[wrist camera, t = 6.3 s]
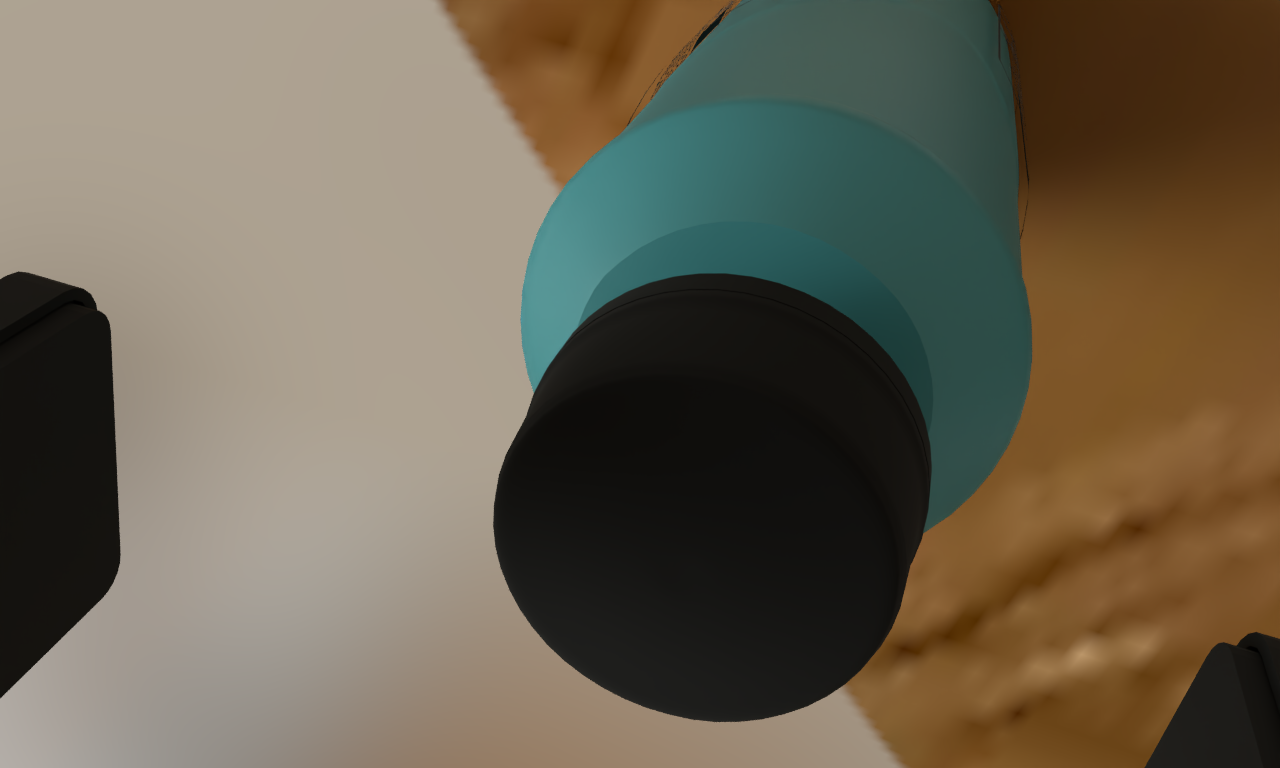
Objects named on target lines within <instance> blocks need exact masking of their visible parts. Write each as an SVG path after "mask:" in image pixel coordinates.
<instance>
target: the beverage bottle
mask: <svg viewBox="0 0 1280 768" xmlns="http://www.w3.org/2000/svg"><path fill="white" fill-rule="evenodd" d="M729 2H730V1H729ZM729 2H728V3H729ZM732 2H734V1H732ZM732 2H731V4H732ZM736 2H737V1H736ZM729 4H730V3H729ZM731 4H730V5H731ZM730 5H729V6H730ZM1000 7H1001V6H1000V5H999V4H998V17H997V14H996V12H995V10H994V8H993V7H992V5H991V3H990V2H989V0H742V1H741V2H740V3H739V4H738V5H737V6H736V7H735V8H734V9H733V10H731V12H730V10H729V12H730V14H729V15H728V14H727V13H726V14H727V15H728V16H726V18H725V17H724V18H725V19H724V18H723V20H722V22H721V23H720V21H721V19H722V17H723V16H724V13H725V11H726V10H727V9H729V8H730V7H729V8H727V9H726V8H725V9H726V10H725V9H723V8H722V9H723V10H725V11H724V12H723V13H722V11H721V10H722V9H721V10H720V11H721V13H722V14H720V16H719V17H718V16H717V17H718V18H717V19H716V20H715V21H714V22H713V23H712V24H710V26H709V27H708V25H707V27H708V28H707V29H706V28H705V29H706V30H705V31H703V33H702V34H701V36H700V37H699V38H698V40H697V42H696V44H695V46H694V48H693V50H694V49H695V48H696V46H697V45H698V44H699V43H700V42H701V41H702V40H703V39H704V38H705V37H706V36H707V35H708V34H709V33H710V32H711V31H712V30H713V29H714V28H715V27H716V26H717V25H718V26H717V27H716V28H715V29H714V30H713V31H712V32H711V33H710V34H709V36H708V37H707V38H706V39H705V40H704V41H703V42H702V43H701V44H700V45H699V46H698V47H697V48H696V49H695V50H694V51H693V50H692V51H693V52H692V51H691V53H690V55H689V57H688V58H687V59H686V60H685V59H684V60H685V61H684V60H682V61H684V62H683V63H682V64H681V63H680V64H681V65H680V66H679V67H678V65H679V64H678V65H677V64H676V65H677V67H678V68H677V67H676V68H677V69H676V70H675V71H674V70H673V71H674V72H672V73H673V74H671V76H670V77H669V76H668V77H669V78H667V80H666V81H665V80H664V81H665V82H664V84H663V83H662V85H661V83H660V82H659V83H660V84H659V83H658V84H657V86H658V85H661V86H662V87H660V86H659V87H660V89H659V91H658V89H657V88H656V89H657V91H658V92H657V91H656V89H655V91H656V92H657V94H656V95H655V96H654V98H653V99H651V101H650V102H649V103H648V104H647V106H646V107H645V108H644V109H643V110H642V111H641V112H640V113H639V114H638V115H637V116H636V118H635V119H634V120H633V121H632V122H631V123H630V124H629V123H628V125H627V127H626V128H625V130H624V131H623V132H622V133H621V134H620V135H619V136H617V137H616V138H614V139H613V140H612V141H611V142H609V143H608V144H607V145H606V146H604V147H603V148H602V149H601V150H600V151H598V152H597V153H596V154H595V155H593V156H592V157H591V158H590V159H589V160H588V161H587V163H586V164H585V165H584V166H583V167H582V168H581V169H580V170H579V171H578V172H577V173H576V174H575V175H574V176H573V177H572V178H571V179H570V180H569V181H568V183H567V184H566V185H565V187H564V188H563V190H562V191H561V193H560V194H559V195H558V197H557V198H556V200H555V201H554V203H553V204H552V206H551V207H550V209H549V211H548V213H547V215H546V217H545V219H544V221H543V223H542V225H541V227H540V229H539V231H538V233H537V236H536V239H535V242H534V244H533V247H532V250H531V253H530V256H529V259H528V264H527V269H526V274H525V280H524V284H523V291H522V306H521V333H522V347H523V352H524V357H525V363H526V368H527V373H528V376H529V379H530V382H531V386H532V389H533V392H534V395H533V398H532V401H531V404H530V407H529V409H528V412H527V416H526V418H525V420H524V422H523V424H522V426H521V427H520V429H519V431H518V433H517V435H516V437H515V439H514V440H513V442H512V444H511V446H510V448H509V450H508V452H507V454H506V456H505V459H504V462H503V465H502V468H501V471H500V474H499V478H498V484H497V490H496V495H495V502H494V522H493V527H494V537H495V547H496V550H497V555H498V559H499V562H500V567H501V569H502V572H503V575H504V577H505V580H506V582H507V585H508V587H509V590H510V592H511V593H512V595H513V597H514V599H515V601H516V603H517V605H518V606H519V608H520V610H521V611H522V613H523V614H524V616H525V617H526V619H527V620H528V621H529V623H530V624H531V626H532V627H533V628H534V629H535V631H536V632H537V633H538V634H539V635H540V637H541V638H542V639H543V640H544V641H545V642H546V644H547V645H548V646H549V647H550V648H551V649H552V650H554V651H555V652H556V653H557V654H558V655H559V656H560V657H561V658H562V659H563V660H564V661H565V662H567V663H568V664H569V665H571V666H572V667H573V668H575V669H576V670H577V671H578V672H580V673H581V674H582V675H584V676H585V677H587V678H588V679H590V680H592V681H593V682H595V683H596V684H598V685H600V686H601V687H603V688H604V689H607V690H608V691H610V692H612V693H614V694H616V695H618V696H620V697H622V698H624V699H626V700H629V701H631V702H633V703H636V704H639V705H641V706H643V707H646V708H649V709H652V710H656V711H659V712H663V713H666V714H670V715H674V716H679V717H683V718H688V719H693V720H703V721H712V722H740V721H750V720H759V719H765V718H769V717H774V716H778V715H782V714H786V713H789V712H792V711H795V710H798V709H801V708H804V707H806V706H809V705H811V704H813V703H814V702H816V701H819V700H821V699H822V698H825V697H827V696H828V695H830V694H831V693H833V692H834V691H835V690H837V689H839V688H840V687H842V686H843V685H845V684H846V683H847V682H848V681H849V680H850V679H851V678H852V677H854V676H855V675H856V674H857V673H858V672H859V671H860V670H861V669H862V668H863V667H864V666H865V664H866V663H867V662H868V661H869V660H870V658H871V657H872V656H873V655H874V654H875V652H876V651H877V650H878V649H879V648H880V646H881V645H882V643H883V642H884V640H885V638H886V637H887V635H888V633H889V632H890V630H891V629H892V626H893V624H894V622H895V619H896V617H897V614H898V612H899V609H900V607H901V602H902V598H903V594H904V590H905V586H906V581H907V577H908V573H909V569H910V565H911V563H912V561H913V559H914V557H915V554H916V552H917V549H918V547H919V545H920V542H921V540H922V536H923V533H924V532H926V531H927V530H929V529H930V528H932V527H933V526H935V525H936V524H938V523H939V522H941V521H942V520H944V519H945V518H947V517H948V516H949V515H951V514H952V513H953V512H954V511H955V510H956V509H958V508H959V507H960V506H961V505H962V504H963V503H964V502H965V501H966V500H967V499H968V498H970V497H971V496H972V495H973V494H974V493H975V491H976V490H977V489H978V488H979V487H980V485H981V484H982V483H983V482H984V481H985V479H986V478H987V477H988V476H989V475H990V474H991V472H992V471H993V469H994V468H995V466H996V465H997V463H998V461H999V460H1000V458H1001V457H1002V455H1003V453H1004V452H1005V450H1006V449H1007V447H1008V445H1009V443H1010V440H1011V438H1012V436H1013V434H1014V431H1015V429H1016V427H1017V424H1018V422H1019V420H1020V417H1021V413H1022V410H1023V406H1024V403H1025V399H1026V396H1027V392H1028V387H1029V379H1030V371H1031V363H1032V329H1031V315H1030V309H1029V303H1028V298H1027V292H1026V287H1025V284H1024V281H1023V278H1022V266H1021V249H1020V239H1021V236H1020V233H1019V217H1018V187H1019V162H1018V147H1017V134H1016V123H1015V113H1016V111H1014V100H1013V90H1014V89H1013V86H1012V77H1011V68H1012V67H1011V65H1010V58H1009V52H1008V46H1007V43H1008V42H1007V40H1008V39H1007V40H1006V38H1005V36H1006V34H1005V35H1004V33H1005V32H1004V30H1003V28H1002V25H1001V23H1000V15H1001V14H1000ZM1001 8H1002V7H1001ZM1002 10H1003V9H1002ZM720 11H719V13H720ZM729 12H728V13H729ZM718 15H719V14H718ZM1001 16H1002V15H1001ZM1005 17H1006V16H1005ZM712 19H713V18H712ZM1006 19H1007V18H1006ZM710 21H711V20H710ZM1007 21H1008V20H1007ZM719 23H720V24H719ZM1004 23H1005V22H1004ZM1008 23H1009V22H1008ZM1005 25H1006V24H1005ZM704 27H705V26H704ZM1006 27H1007V26H1006ZM1007 29H1008V28H1007ZM703 30H704V28H703ZM1011 32H1012V31H1011ZM698 33H699V32H698ZM698 33H697V34H698ZM1009 33H1010V32H1009ZM1012 35H1013V34H1011V36H1012ZM697 36H698V35H697ZM694 37H696V36H694ZM694 37H693V38H694ZM695 39H696V38H695ZM1011 39H1013V37H1012V38H1011ZM692 40H693V39H692ZM693 42H694V41H693ZM1012 42H1014V41H1012ZM688 43H689V42H688ZM688 43H687V44H688ZM690 43H691V42H690ZM690 43H689V44H690ZM1009 44H1010V43H1009ZM1009 44H1008V45H1009ZM1011 44H1012V43H1011ZM1011 44H1010V46H1012V45H1013V44H1012V45H1011ZM691 45H692V44H691ZM1015 45H1016V44H1014V46H1015ZM685 46H686V45H685ZM685 46H684V47H683V49H684V48H685ZM688 46H689V45H688ZM688 46H686V48H687V47H688ZM1010 46H1009V47H1010ZM1012 47H1013V46H1012ZM1012 47H1011V48H1012ZM689 48H690V47H689ZM689 48H687V50H688V49H689ZM1011 48H1010V49H1011ZM1013 48H1014V47H1013ZM1013 48H1012V49H1013ZM683 49H682V51H683ZM1014 49H1015V48H1014ZM1014 49H1013V50H1014ZM685 50H686V49H685ZM689 50H690V49H689ZM1013 50H1011V51H1012V52H1016V51H1017V50H1016V51H1013ZM682 51H681V52H682ZM685 52H686V51H685ZM685 52H683V53H685ZM688 52H689V51H688ZM679 53H680V52H679ZM680 54H681V53H680ZM680 54H679V55H680ZM687 54H688V53H687ZM687 54H685V55H687ZM1014 54H1015V53H1014ZM1014 54H1013V55H1014ZM685 55H684V57H685ZM1015 55H1017V54H1015ZM1015 55H1014V56H1015ZM682 57H683V56H682ZM684 57H683V58H684ZM1016 57H1017V56H1016ZM1016 57H1013V58H1015V59H1018V58H1016ZM673 58H674V57H673ZM676 58H678V57H677V56H676ZM676 58H674V59H676ZM683 58H681V59H683ZM685 58H686V57H685ZM674 59H673V60H674ZM679 59H680V58H679ZM673 60H672V61H673ZM677 60H678V59H677ZM675 61H676V60H675ZM678 61H679V60H678ZM682 61H681V62H682ZM1014 61H1015V60H1014ZM673 62H674V61H673ZM675 63H676V62H675ZM673 64H674V63H673ZM1013 64H1014V63H1013ZM1015 64H1017V63H1015ZM671 65H672V64H671ZM669 66H670V65H669ZM671 67H672V66H671ZM673 67H674V66H673ZM1014 67H1015V66H1014ZM1017 67H1018V65H1017ZM667 69H668V68H667ZM1018 69H1019V68H1018ZM662 70H663V69H662ZM1015 70H1016V69H1015ZM671 71H672V70H671ZM665 72H666V71H665ZM1014 72H1015V71H1014ZM1014 72H1013V74H1014ZM666 73H667V72H666ZM668 73H669V72H668ZM1016 73H1017V72H1016ZM1019 73H1020V72H1019ZM1019 73H1018V74H1019ZM659 74H660V73H659ZM1018 74H1017V76H1018ZM663 75H664V74H663ZM665 75H666V74H665ZM667 75H668V74H667ZM1015 75H1016V74H1015ZM657 77H658V76H657ZM666 77H667V76H666ZM1014 77H1015V76H1014ZM1019 77H1020V76H1019ZM1019 77H1018V79H1019ZM661 79H662V77H661ZM661 79H660V80H661ZM1015 79H1016V78H1015ZM1018 79H1017V80H1018ZM654 81H655V80H654ZM662 81H663V80H662ZM662 81H661V82H662ZM1016 82H1017V81H1016ZM1020 82H1021V81H1020ZM1014 83H1015V82H1014ZM1018 83H1019V82H1018ZM1018 83H1017V85H1019V84H1018ZM651 85H652V84H651ZM1015 86H1016V85H1015ZM659 87H658V88H659ZM1017 87H1018V86H1017ZM649 88H650V87H649ZM1018 88H1020V87H1018ZM1016 89H1017V88H1016ZM1018 90H1019V89H1018ZM1021 91H1022V90H1021ZM646 92H647V91H646ZM1014 93H1015V92H1014ZM1019 93H1020V92H1018V97H1019V95H1020V94H1019ZM653 94H654V93H653ZM1021 94H1022V92H1021ZM644 95H645V94H644ZM1015 96H1016V95H1015ZM643 97H644V96H643ZM652 97H653V95H652ZM652 97H651V98H652ZM1020 97H1022V96H1021V95H1020ZM1020 97H1019V98H1020ZM642 99H643V98H642ZM1016 99H1017V98H1016ZM1022 99H1023V98H1022ZM640 102H641V101H640ZM1017 102H1018V101H1017ZM1022 102H1023V101H1022ZM1020 103H1021V102H1020V99H1019V104H1018V103H1017V104H1018V105H1020ZM639 104H640V103H639ZM638 106H639V105H638ZM638 106H637V107H638ZM1021 107H1022V106H1021ZM1016 108H1017V107H1016ZM1019 108H1020V107H1019ZM1023 108H1024V106H1023ZM1023 108H1022V111H1023ZM636 109H637V108H636ZM635 111H636V110H635ZM633 114H634V113H633ZM1020 114H1022V113H1021V108H1020ZM632 116H633V115H632ZM631 118H632V117H631ZM1022 119H1023V115H1022V117H1021V124H1022ZM630 120H631V119H630ZM1024 120H1025V118H1024ZM629 122H630V121H629ZM1023 124H1024V123H1023ZM1025 126H1026V124H1025ZM1024 129H1025V128H1024ZM1022 133H1023V126H1022ZM1025 135H1026V133H1025ZM1026 140H1027V139H1026ZM1023 142H1024V135H1023ZM1027 147H1028V146H1027ZM1024 150H1025V143H1024ZM1025 159H1026V152H1025ZM1028 162H1029V161H1028ZM1026 168H1027V161H1026ZM1027 177H1028V170H1027ZM1028 187H1029V179H1028ZM1027 203H1028V201H1027ZM1026 209H1027V207H1026ZM1025 215H1026V213H1025ZM1024 221H1025V219H1024ZM1023 227H1024V224H1023ZM1022 232H1023V230H1022ZM1021 235H1022V233H1021Z"/></svg>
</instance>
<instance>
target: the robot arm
mask: <svg viewBox="0 0 1280 768" xmlns="http://www.w3.org/2000/svg"><path fill="white" fill-rule="evenodd" d="M119 564H120V533H119V509H118V486H117V463H116V442H115V418H114V394H113V373H112V350H111V330H110V324H109V321H108V319H107V317H106V315H105V314H103V313H102V312H100V311H97V307H96V303H95V301H94V299H93V297H92V295H91V294H90V293H88V292H87V291H86V290H84V289H82V288H79V287H75V286H72V285H68V284H65V283H61V282H58V281H55V280H51V279H48V278H45V277H41V276H37V275H34V274H30V273H26V272H16V273H13V274H10V275H7V276H5V277H3V278H2V279H0V698H1V697H2V696H3V695H4V694H5V693H6V692H7V691H8V690H9V689H10V688H11V687H12V686H13V685H14V684H15V683H16V682H17V681H18V680H19V679H21V678H22V676H24V675H25V673H27V672H28V671H29V670H30V669H31V668H32V667H33V666H34V665H35V664H36V663H37V662H38V661H39V660H40V659H41V658H42V657H43V656H44V655H45V654H46V653H47V652H48V651H49V650H50V649H51V648H52V647H53V646H54V645H55V644H56V643H57V642H58V641H59V640H60V639H61V638H62V637H63V636H64V635H65V634H66V633H67V632H68V631H69V630H70V629H71V628H73V627H74V626H75V625H76V624H77V622H79V621H80V620H81V619H82V618H83V617H84V616H85V615H86V614H87V613H88V612H89V611H90V610H91V609H92V608H93V607H94V606H95V605H96V604H97V603H98V602H99V601H100V600H101V599H102V598H103V597H104V595H105V594H106V593H107V592H108V590H109V589H110V587H111V585H112V584H113V582H114V579H115V577H116V575H117V572H118V568H119ZM1145 768H1280V639H1278V638H1274V637H1271V636H1268V635H1264V634H1261V633H1257V632H1255V633H1250V634H1248V635H1246V636H1245V637H1244V638H1243V639H1242V640H1240V642H1239V643H1238V645H1237V646H1234V645H1231V644H1228V643H1224V642H1223V643H1218V644H1217V645H1216V646H1215V647H1213V648H1212V650H1211V651H1210V653H1209V654H1208V656H1207V657H1206V659H1205V661H1204V663H1203V664H1202V666H1201V668H1200V670H1199V672H1198V673H1197V675H1196V677H1195V679H1194V680H1193V682H1192V684H1191V686H1190V688H1189V689H1188V691H1187V693H1186V695H1185V697H1184V698H1183V700H1182V702H1181V704H1180V706H1179V707H1178V709H1177V711H1176V713H1175V714H1174V716H1173V718H1172V720H1171V722H1170V723H1169V725H1168V727H1167V729H1166V731H1165V732H1164V734H1163V736H1162V738H1161V740H1160V741H1159V743H1158V745H1157V747H1156V748H1155V750H1154V752H1153V754H1152V756H1151V757H1150V759H1149V761H1148V763H1147V765H1146V766H1145Z"/></svg>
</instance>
